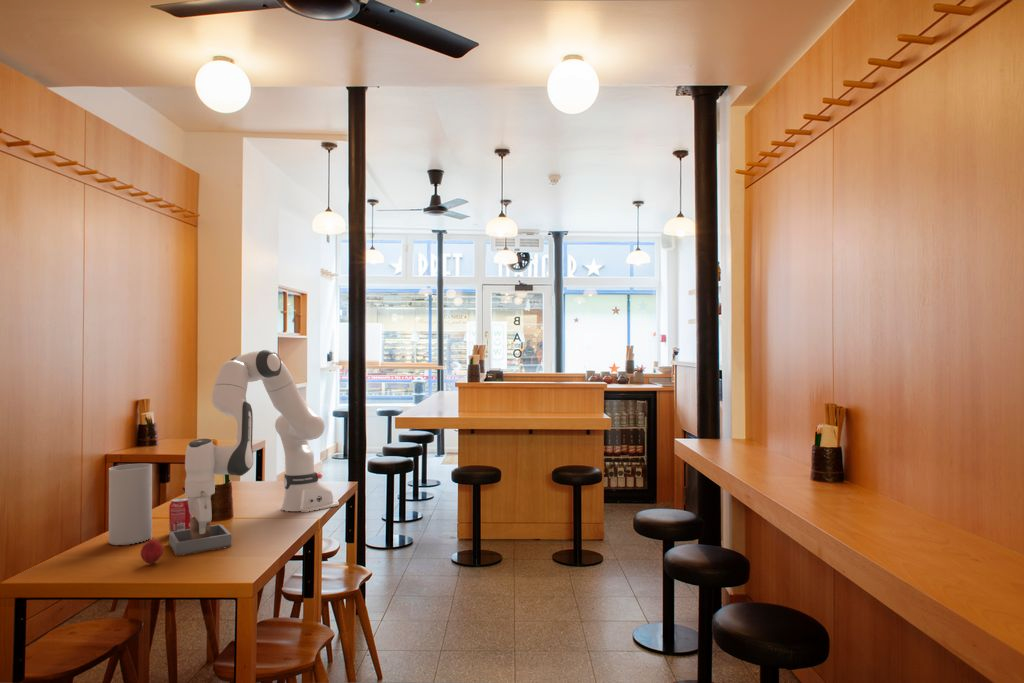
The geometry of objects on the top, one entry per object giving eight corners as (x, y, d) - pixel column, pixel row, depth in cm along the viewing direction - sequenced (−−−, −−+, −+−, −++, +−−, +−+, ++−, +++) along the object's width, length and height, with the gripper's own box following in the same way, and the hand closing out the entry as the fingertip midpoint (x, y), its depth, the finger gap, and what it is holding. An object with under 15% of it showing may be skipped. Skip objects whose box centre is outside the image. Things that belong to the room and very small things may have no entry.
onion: (160, 566, 184) (160, 539, 184) (138, 568, 182) (138, 541, 182) (165, 560, 189) (165, 533, 190) (143, 562, 188) (143, 535, 188)
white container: (139, 545, 205) (140, 469, 206) (100, 546, 204) (100, 470, 205) (158, 534, 217) (158, 463, 218) (121, 536, 217) (121, 464, 217)
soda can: (185, 529, 224) (185, 496, 224) (195, 532, 220) (195, 498, 220) (165, 534, 218) (165, 500, 218) (175, 537, 214) (175, 502, 214)
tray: (221, 535, 216) (221, 523, 216) (231, 546, 203) (231, 534, 203) (169, 544, 206) (169, 532, 206) (176, 556, 193) (176, 543, 193)
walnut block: (207, 536, 208) (207, 515, 208) (209, 539, 204) (209, 518, 204) (190, 538, 205) (190, 517, 205) (193, 542, 201) (192, 520, 201)
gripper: (216, 493, 198) (216, 536, 198) (205, 483, 215) (205, 523, 215) (194, 496, 195) (195, 540, 194) (184, 485, 211) (184, 526, 211)
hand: (200, 531), depth 205 cm, fingers closed on walnut block, 5 cm apart
